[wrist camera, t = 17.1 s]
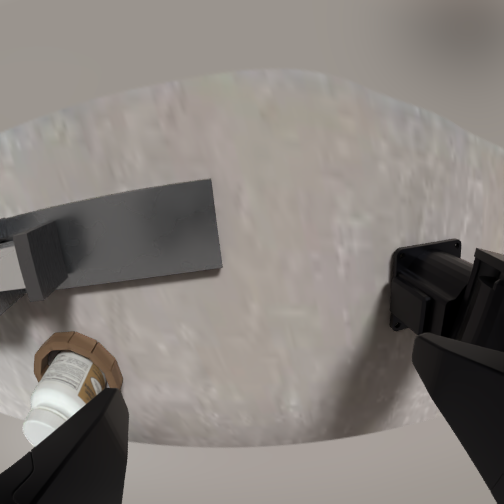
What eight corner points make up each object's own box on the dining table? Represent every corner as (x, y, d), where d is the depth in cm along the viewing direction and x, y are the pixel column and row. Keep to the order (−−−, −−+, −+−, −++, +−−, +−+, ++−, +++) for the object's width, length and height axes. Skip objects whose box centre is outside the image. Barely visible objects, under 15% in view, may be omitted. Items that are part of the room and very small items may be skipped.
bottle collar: (105, 328, 20) (99, 339, 19) (132, 403, 22) (129, 416, 20) (29, 334, 19) (21, 343, 18) (61, 403, 21) (55, 414, 20)
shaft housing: (210, 176, 18) (211, 180, 14) (222, 265, 20) (226, 295, 15) (-67, 238, 16) (-103, 254, 12) (-50, 300, 18) (-82, 323, 13)
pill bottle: (106, 399, 22) (83, 472, 14) (56, 383, 21) (22, 449, 13) (109, 356, 21) (78, 430, 13) (55, 339, 20) (9, 403, 12)
